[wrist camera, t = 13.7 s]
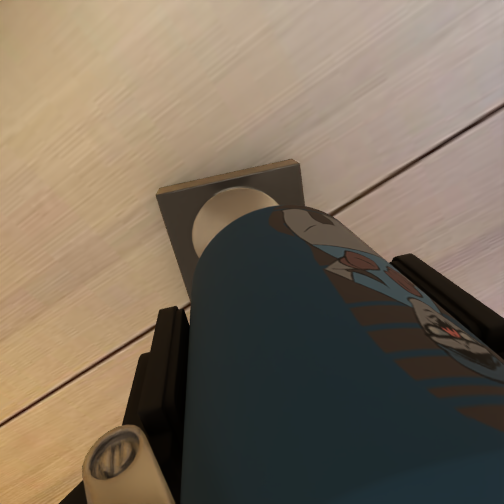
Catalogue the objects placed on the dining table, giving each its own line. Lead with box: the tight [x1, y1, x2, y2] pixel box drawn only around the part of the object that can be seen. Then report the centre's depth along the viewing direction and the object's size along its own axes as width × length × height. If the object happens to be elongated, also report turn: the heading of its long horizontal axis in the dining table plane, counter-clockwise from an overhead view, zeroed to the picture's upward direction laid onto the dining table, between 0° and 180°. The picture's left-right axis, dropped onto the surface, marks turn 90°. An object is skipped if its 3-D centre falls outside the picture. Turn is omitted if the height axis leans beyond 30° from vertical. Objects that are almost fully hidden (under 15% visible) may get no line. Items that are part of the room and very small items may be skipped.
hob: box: [156, 159, 305, 302], centre depth 31 cm, size 17×12×3 cm
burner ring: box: [192, 187, 279, 258], centre depth 28 cm, size 8×8×1 cm
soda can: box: [180, 205, 504, 504], centre depth 8 cm, size 7×7×12 cm
